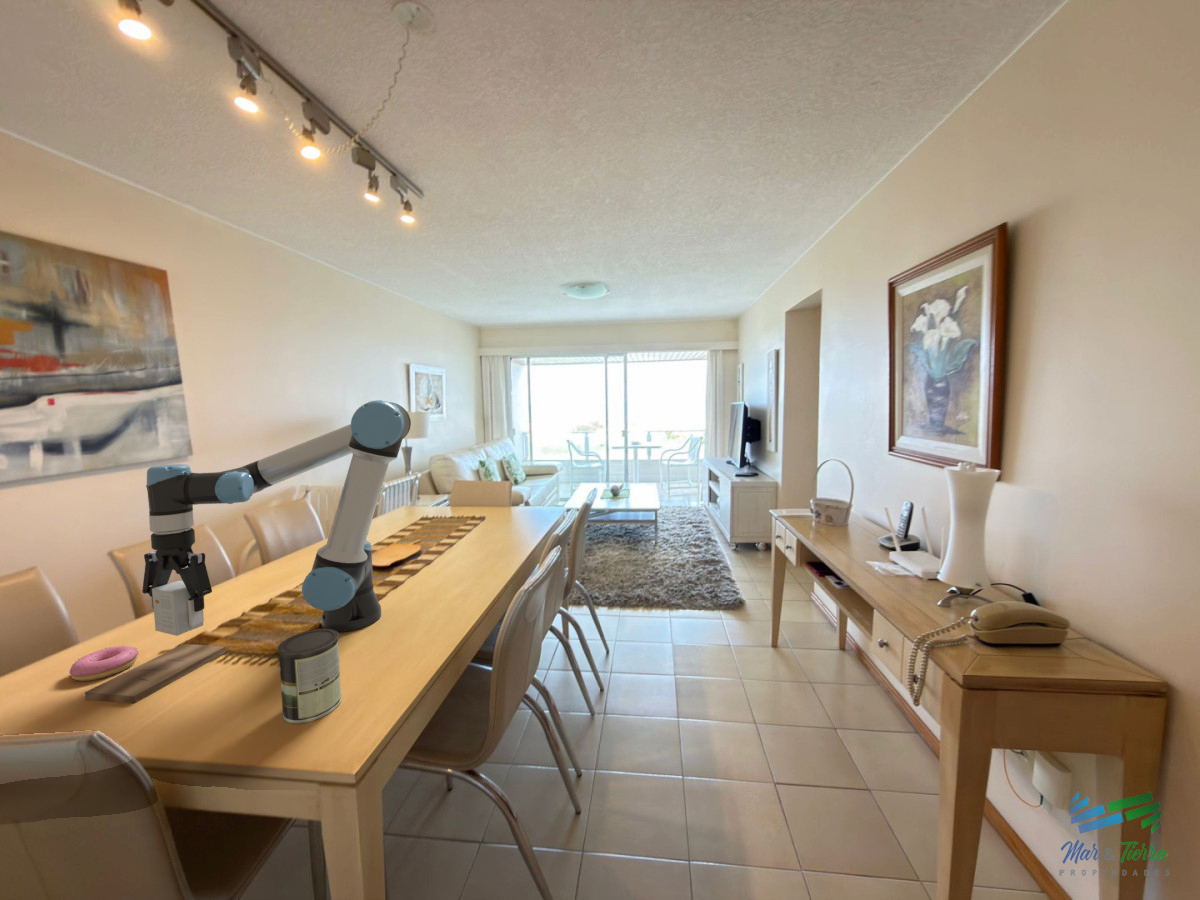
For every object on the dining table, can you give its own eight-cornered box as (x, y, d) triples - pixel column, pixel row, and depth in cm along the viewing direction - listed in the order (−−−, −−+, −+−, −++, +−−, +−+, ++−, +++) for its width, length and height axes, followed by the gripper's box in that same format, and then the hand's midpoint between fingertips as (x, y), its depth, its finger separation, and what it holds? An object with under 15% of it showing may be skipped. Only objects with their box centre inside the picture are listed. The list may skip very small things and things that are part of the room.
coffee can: (270, 726, 86) (265, 655, 85) (301, 692, 96) (297, 629, 95) (326, 722, 87) (322, 652, 86) (351, 690, 97) (347, 627, 96)
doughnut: (109, 657, 111) (108, 641, 111) (152, 658, 111) (151, 641, 111) (55, 684, 100) (53, 666, 100) (102, 684, 100) (100, 666, 100)
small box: (204, 626, 109) (201, 584, 108) (176, 636, 104) (173, 592, 103) (182, 620, 112) (179, 579, 111) (154, 631, 107) (151, 588, 106)
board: (225, 652, 113) (225, 646, 113) (134, 703, 93) (134, 696, 93) (183, 649, 114) (183, 643, 114) (85, 699, 95) (84, 692, 95)
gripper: (228, 527, 109) (233, 618, 110) (150, 524, 111) (157, 613, 113) (196, 536, 101) (203, 632, 103) (114, 532, 104) (122, 627, 105)
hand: (179, 622), depth 108 cm, fingers closed on small box, 9 cm apart
